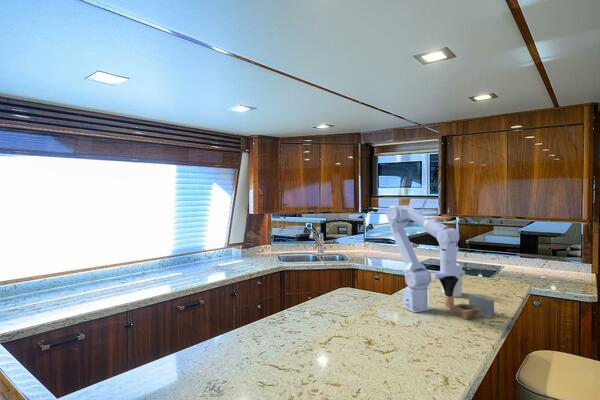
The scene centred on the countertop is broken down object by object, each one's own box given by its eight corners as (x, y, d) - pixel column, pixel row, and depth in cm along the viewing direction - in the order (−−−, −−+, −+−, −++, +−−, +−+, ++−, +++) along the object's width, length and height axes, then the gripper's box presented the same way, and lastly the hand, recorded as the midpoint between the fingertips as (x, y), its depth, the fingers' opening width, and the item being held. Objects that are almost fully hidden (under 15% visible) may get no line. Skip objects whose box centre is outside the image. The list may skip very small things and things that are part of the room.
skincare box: (441, 292, 172) (441, 261, 172) (453, 292, 173) (453, 261, 173) (450, 297, 164) (450, 264, 164) (463, 296, 164) (462, 264, 164)
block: (466, 319, 134) (466, 311, 134) (449, 313, 142) (449, 305, 142) (481, 316, 137) (481, 309, 137) (465, 310, 145) (465, 303, 145)
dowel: (450, 307, 149) (449, 288, 149) (444, 305, 152) (444, 286, 152) (455, 306, 150) (455, 287, 150) (450, 304, 153) (449, 286, 153)
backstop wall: (490, 316, 138) (490, 300, 138) (469, 308, 147) (469, 294, 147) (494, 315, 138) (493, 300, 138) (472, 308, 148) (472, 293, 148)
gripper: (441, 263, 130) (441, 301, 130) (471, 260, 135) (471, 296, 135) (427, 260, 136) (427, 296, 136) (456, 257, 142) (456, 292, 142)
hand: (448, 296), depth 136 cm, fingers closed
